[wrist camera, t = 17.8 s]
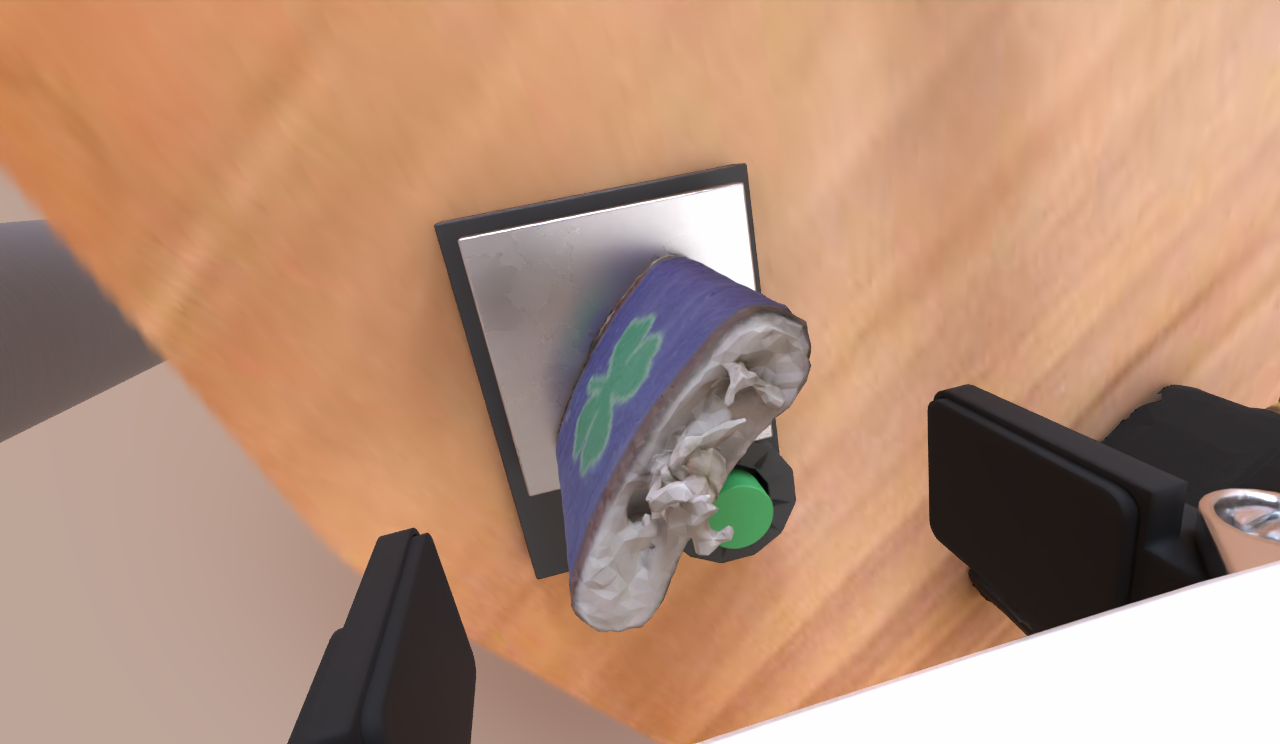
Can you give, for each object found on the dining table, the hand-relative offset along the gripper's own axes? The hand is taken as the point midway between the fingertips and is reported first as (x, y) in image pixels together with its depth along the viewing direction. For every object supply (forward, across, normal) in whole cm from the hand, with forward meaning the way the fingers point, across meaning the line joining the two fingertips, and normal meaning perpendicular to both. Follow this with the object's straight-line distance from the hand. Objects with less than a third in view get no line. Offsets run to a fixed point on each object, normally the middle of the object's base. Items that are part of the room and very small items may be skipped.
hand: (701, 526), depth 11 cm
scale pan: (+13, -1, 0) cm, 13 cm away
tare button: (+13, -4, +8) cm, 16 cm away
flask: (+12, 0, +1) cm, 12 cm away
